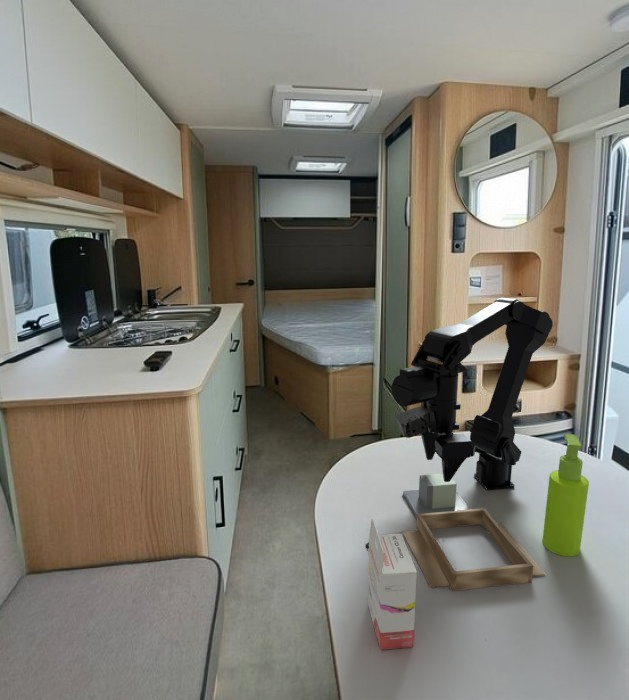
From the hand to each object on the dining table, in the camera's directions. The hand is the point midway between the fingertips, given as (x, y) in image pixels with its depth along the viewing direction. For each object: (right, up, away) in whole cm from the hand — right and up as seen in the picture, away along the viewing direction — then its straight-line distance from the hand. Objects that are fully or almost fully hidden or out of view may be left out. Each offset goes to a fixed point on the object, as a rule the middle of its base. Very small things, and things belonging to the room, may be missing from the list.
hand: (437, 470), depth 93 cm
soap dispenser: (+19, -11, -11) cm, 24 cm away
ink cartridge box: (-14, -15, -27) cm, 34 cm away
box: (0, -7, +2) cm, 7 cm away
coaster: (0, -8, +2) cm, 8 cm away
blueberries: (-13, -12, -11) cm, 21 cm away
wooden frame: (+2, -11, -13) cm, 17 cm away
